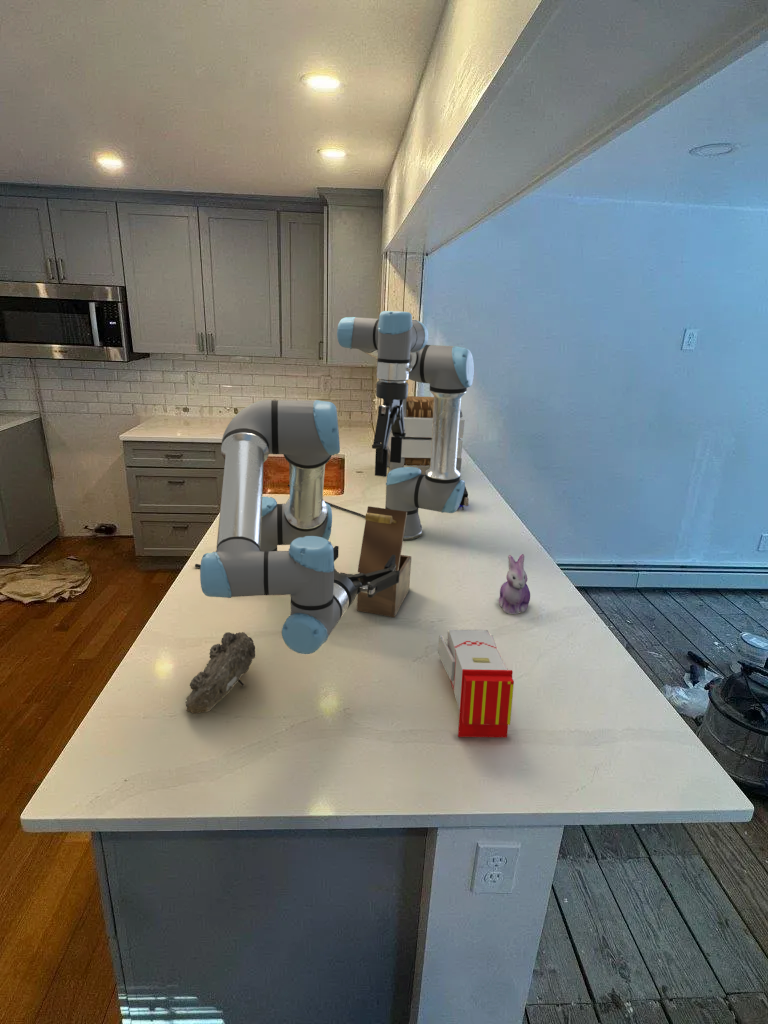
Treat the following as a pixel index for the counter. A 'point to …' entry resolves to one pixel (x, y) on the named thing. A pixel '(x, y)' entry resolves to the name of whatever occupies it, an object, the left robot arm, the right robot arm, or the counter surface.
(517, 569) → the figurine
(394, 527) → the lid
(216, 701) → the fossil
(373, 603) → the chest
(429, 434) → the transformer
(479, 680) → the toy
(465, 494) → the figurine character
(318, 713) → the counter surface
